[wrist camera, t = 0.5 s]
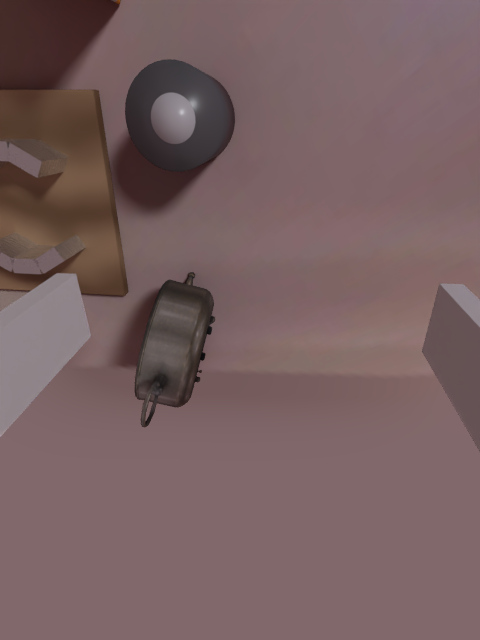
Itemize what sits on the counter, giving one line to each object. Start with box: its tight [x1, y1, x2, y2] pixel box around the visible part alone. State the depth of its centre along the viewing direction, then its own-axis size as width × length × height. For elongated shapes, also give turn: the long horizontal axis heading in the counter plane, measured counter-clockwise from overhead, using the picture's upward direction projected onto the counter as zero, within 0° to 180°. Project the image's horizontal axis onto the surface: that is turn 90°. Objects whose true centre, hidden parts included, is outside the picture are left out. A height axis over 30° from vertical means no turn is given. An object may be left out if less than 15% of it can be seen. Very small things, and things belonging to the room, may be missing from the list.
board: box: [0, 90, 128, 296], centre depth 35 cm, size 18×14×1 cm
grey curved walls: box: [0, 139, 86, 274], centre depth 33 cm, size 11×8×4 cm
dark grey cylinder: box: [125, 60, 235, 172], centre depth 28 cm, size 6×6×7 cm
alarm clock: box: [135, 272, 215, 427], centre depth 32 cm, size 11×5×16 cm, turn 166°
